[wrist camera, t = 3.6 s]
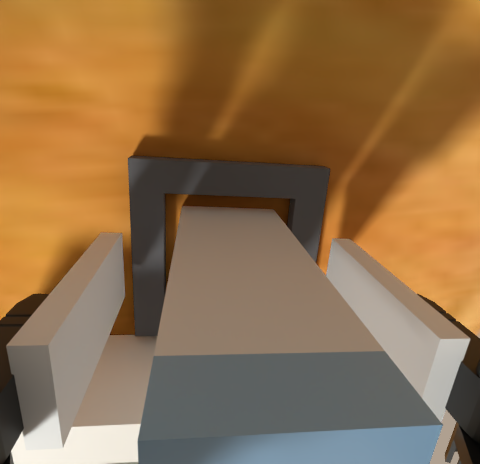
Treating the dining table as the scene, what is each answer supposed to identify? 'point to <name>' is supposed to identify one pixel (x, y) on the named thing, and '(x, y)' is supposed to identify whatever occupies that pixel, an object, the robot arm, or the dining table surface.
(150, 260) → the dark grey square frame
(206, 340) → the plug
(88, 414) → the port
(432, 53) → the dining table surface
